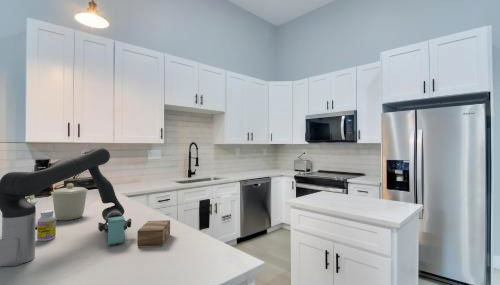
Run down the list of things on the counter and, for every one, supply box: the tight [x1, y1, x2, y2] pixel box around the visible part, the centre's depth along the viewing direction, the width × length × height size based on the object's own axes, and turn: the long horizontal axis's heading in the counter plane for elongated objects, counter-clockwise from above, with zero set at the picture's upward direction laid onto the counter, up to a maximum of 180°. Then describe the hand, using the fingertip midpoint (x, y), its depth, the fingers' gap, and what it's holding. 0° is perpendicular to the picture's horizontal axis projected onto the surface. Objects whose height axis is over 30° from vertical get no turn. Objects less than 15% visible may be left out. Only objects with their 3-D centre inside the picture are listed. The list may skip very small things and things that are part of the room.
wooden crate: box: [136, 220, 171, 248], centre depth 112 cm, size 14×10×7 cm
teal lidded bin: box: [107, 215, 126, 246], centre depth 109 cm, size 6×6×10 cm
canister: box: [50, 182, 89, 221], centre depth 149 cm, size 18×18×21 cm
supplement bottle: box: [36, 209, 57, 242], centre depth 115 cm, size 7×7×13 cm
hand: (116, 229), depth 107 cm, fingers closed on teal lidded bin, 6 cm apart
